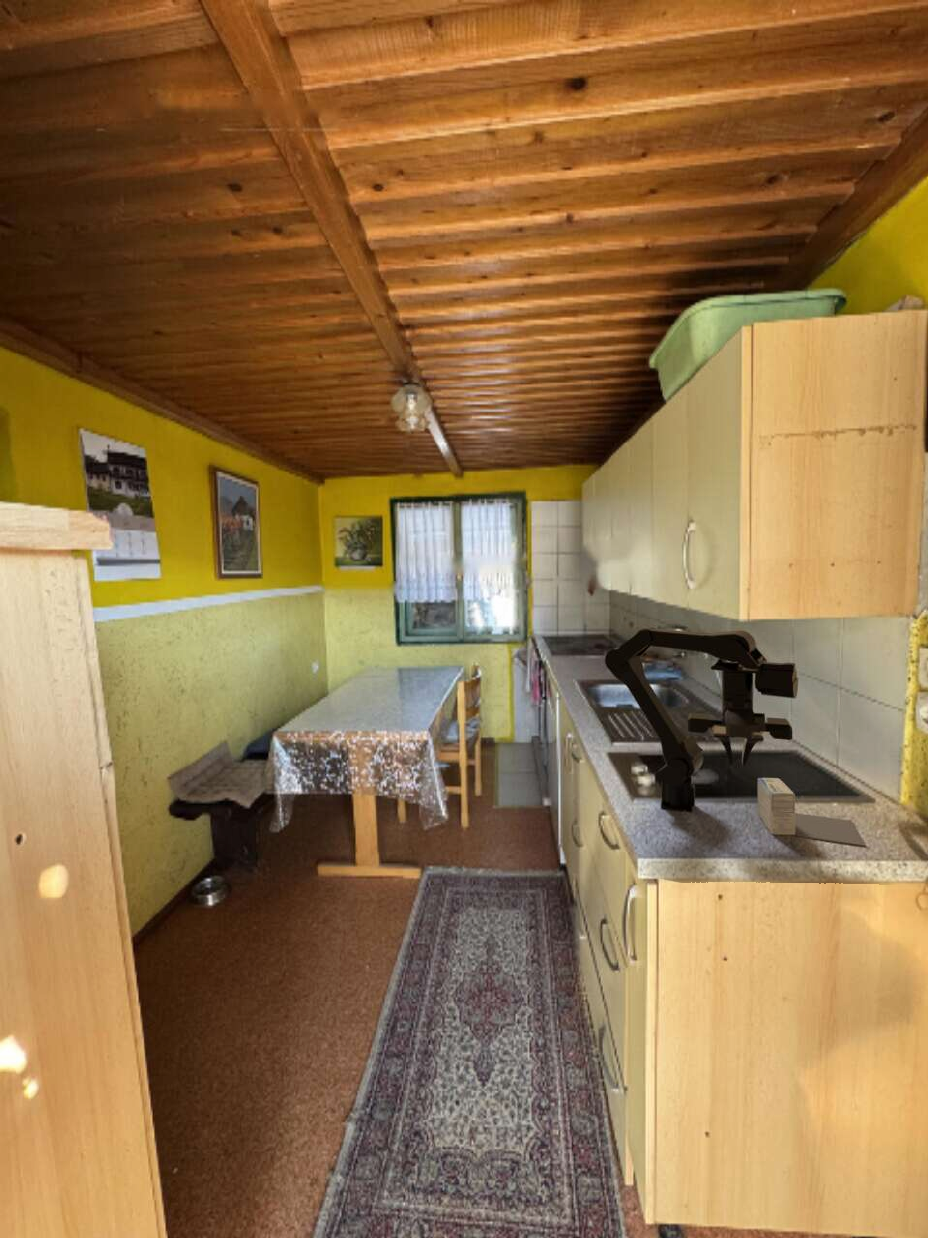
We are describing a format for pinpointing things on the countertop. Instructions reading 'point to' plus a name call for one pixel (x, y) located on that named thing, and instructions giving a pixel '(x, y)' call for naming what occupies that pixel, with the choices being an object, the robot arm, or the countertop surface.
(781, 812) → the wooden block
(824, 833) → the mat
